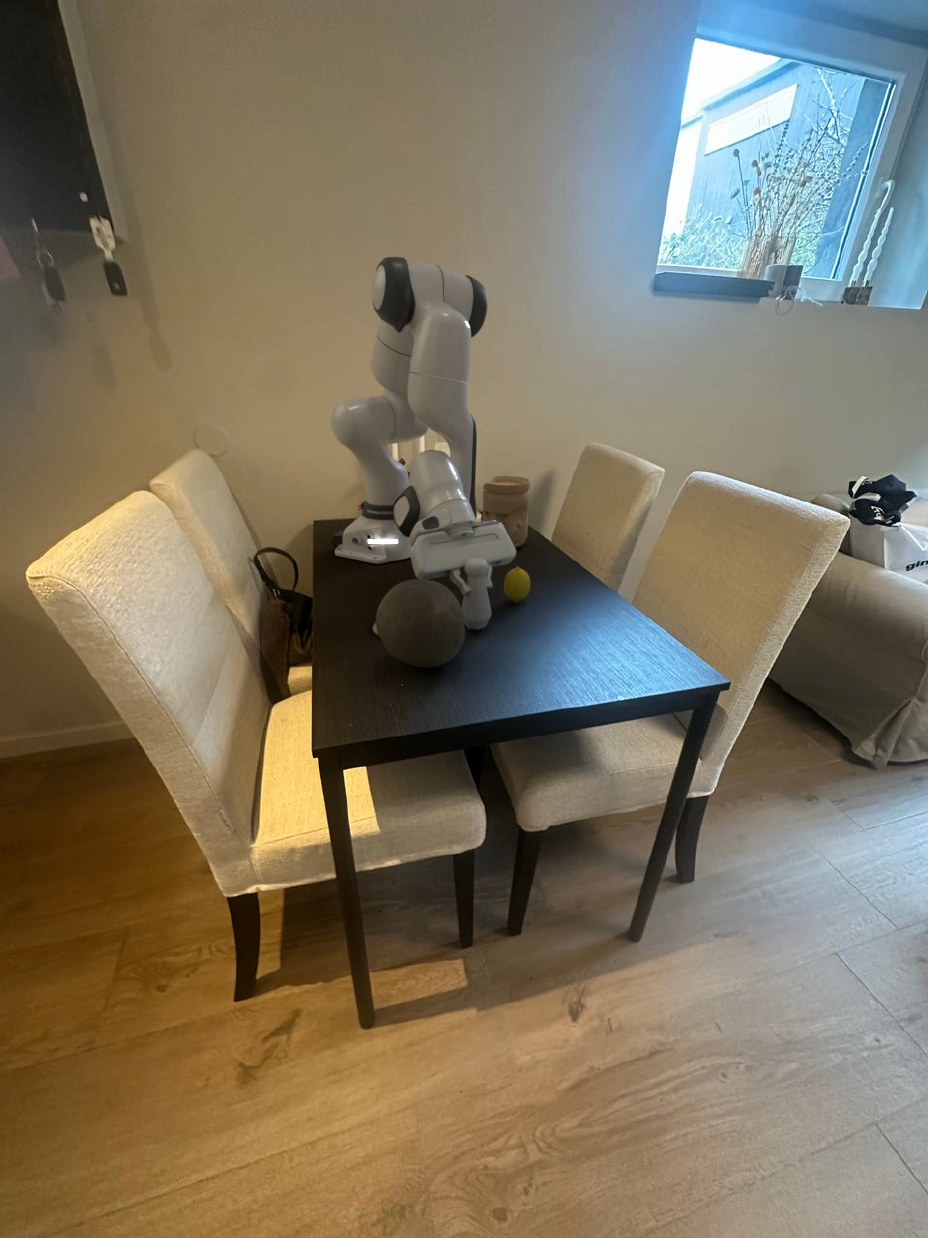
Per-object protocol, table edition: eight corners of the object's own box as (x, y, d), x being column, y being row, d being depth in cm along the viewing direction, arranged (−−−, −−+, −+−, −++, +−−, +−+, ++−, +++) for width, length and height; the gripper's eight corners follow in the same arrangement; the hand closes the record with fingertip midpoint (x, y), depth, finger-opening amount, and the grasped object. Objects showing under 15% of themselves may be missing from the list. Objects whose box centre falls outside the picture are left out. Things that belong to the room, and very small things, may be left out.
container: (478, 550, 137) (478, 483, 129) (486, 536, 148) (487, 474, 140) (523, 553, 134) (527, 486, 126) (529, 539, 145) (532, 476, 137)
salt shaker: (492, 618, 97) (493, 555, 91) (490, 632, 92) (492, 566, 86) (462, 617, 98) (462, 554, 92) (459, 630, 93) (458, 565, 87)
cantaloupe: (422, 636, 93) (418, 561, 87) (482, 661, 85) (483, 580, 79) (364, 667, 84) (355, 586, 77) (425, 699, 76) (421, 611, 69)
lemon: (512, 610, 103) (513, 574, 100) (498, 600, 108) (499, 565, 104) (534, 604, 106) (536, 569, 102) (520, 595, 110) (521, 561, 106)
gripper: (494, 526, 102) (518, 587, 98) (400, 541, 93) (423, 608, 90) (506, 510, 96) (532, 574, 93) (408, 524, 88) (432, 595, 84)
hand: (477, 591), depth 91 cm, fingers closed on salt shaker, 3 cm apart
